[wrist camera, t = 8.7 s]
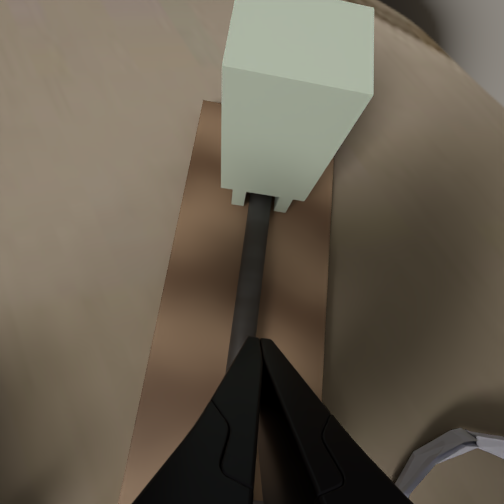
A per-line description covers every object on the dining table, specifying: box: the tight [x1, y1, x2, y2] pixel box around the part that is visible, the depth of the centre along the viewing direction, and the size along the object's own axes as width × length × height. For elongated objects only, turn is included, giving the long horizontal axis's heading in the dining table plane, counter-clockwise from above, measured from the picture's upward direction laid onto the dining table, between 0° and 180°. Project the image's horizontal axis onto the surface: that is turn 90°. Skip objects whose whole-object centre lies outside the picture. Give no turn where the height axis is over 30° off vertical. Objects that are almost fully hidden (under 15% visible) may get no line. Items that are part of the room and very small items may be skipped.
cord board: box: [118, 100, 334, 504], centre depth 15 cm, size 28×10×6 cm, turn 173°
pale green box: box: [221, 0, 374, 213], centre depth 15 cm, size 4×5×10 cm
